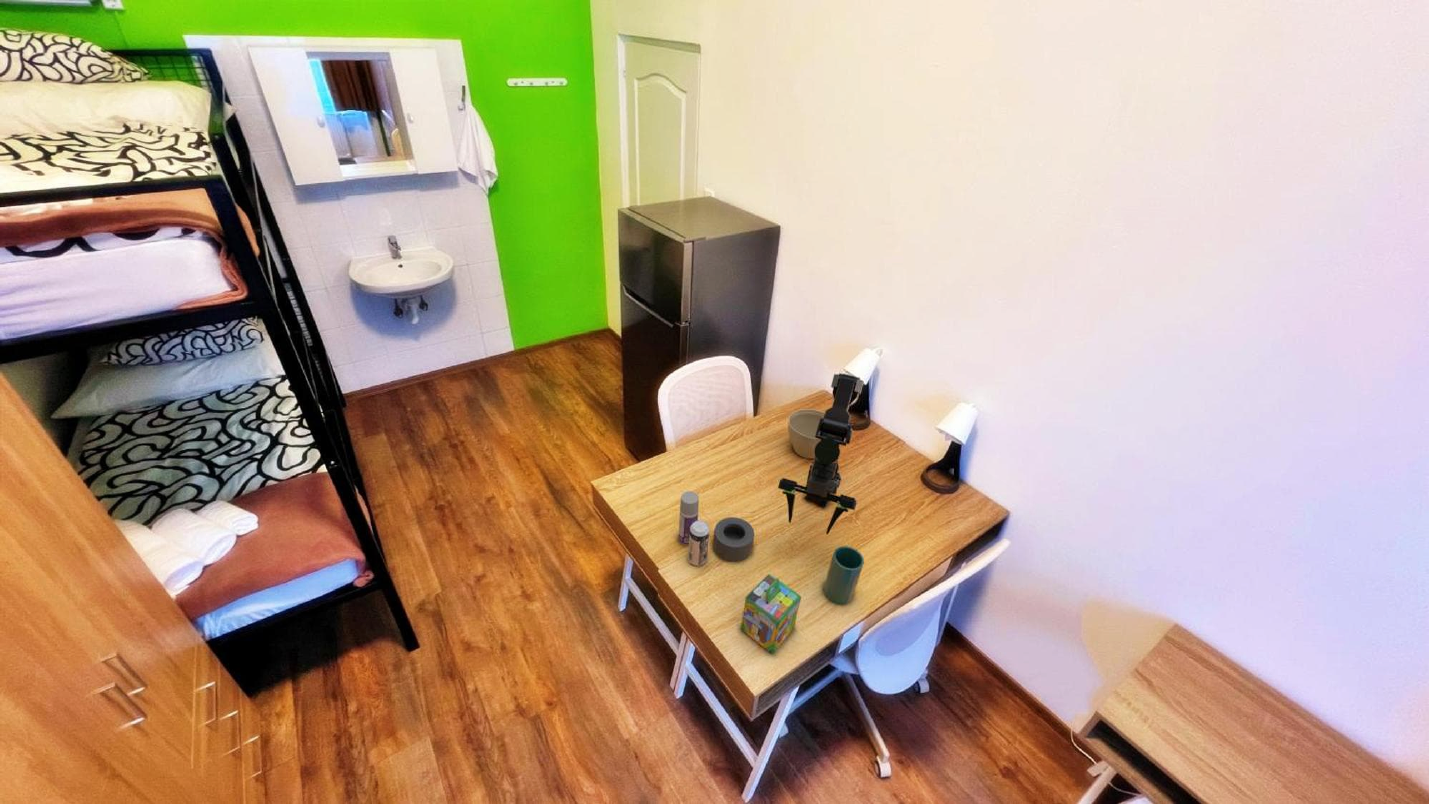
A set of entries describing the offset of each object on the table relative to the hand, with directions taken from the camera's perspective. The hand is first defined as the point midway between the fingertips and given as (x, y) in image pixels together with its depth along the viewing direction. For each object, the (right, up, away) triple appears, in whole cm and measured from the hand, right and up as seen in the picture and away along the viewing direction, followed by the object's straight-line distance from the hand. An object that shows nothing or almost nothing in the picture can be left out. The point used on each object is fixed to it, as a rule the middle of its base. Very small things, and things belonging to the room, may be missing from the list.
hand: (808, 528), depth 134 cm
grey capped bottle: (-27, -9, +7) cm, 29 cm away
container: (-30, -6, +12) cm, 33 cm away
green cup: (+8, -16, +2) cm, 18 cm away
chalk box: (-11, -21, -8) cm, 25 cm away
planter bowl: (+8, +15, +48) cm, 51 cm away
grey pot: (-18, -7, +11) cm, 22 cm away
